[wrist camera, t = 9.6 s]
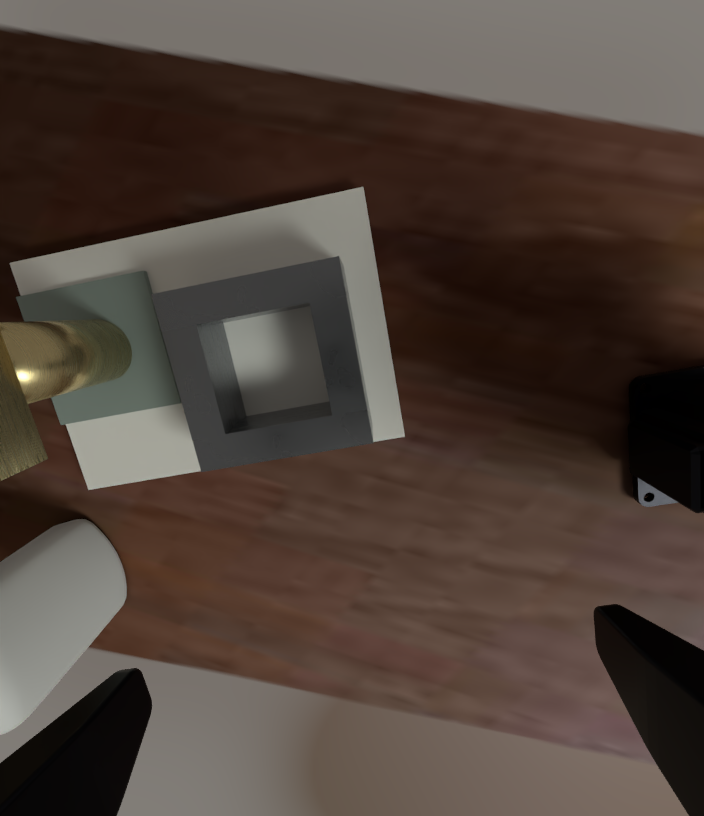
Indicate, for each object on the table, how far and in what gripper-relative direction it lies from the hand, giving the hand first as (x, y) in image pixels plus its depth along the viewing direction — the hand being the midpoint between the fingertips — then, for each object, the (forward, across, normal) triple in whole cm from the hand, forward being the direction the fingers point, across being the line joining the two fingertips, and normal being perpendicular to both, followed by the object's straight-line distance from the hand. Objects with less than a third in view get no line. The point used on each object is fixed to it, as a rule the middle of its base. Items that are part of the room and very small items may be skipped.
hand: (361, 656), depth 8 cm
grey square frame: (+12, +3, -5) cm, 13 cm away
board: (+13, +6, -6) cm, 16 cm away
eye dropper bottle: (+13, +16, +4) cm, 21 cm away
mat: (+12, +11, -7) cm, 18 cm away
